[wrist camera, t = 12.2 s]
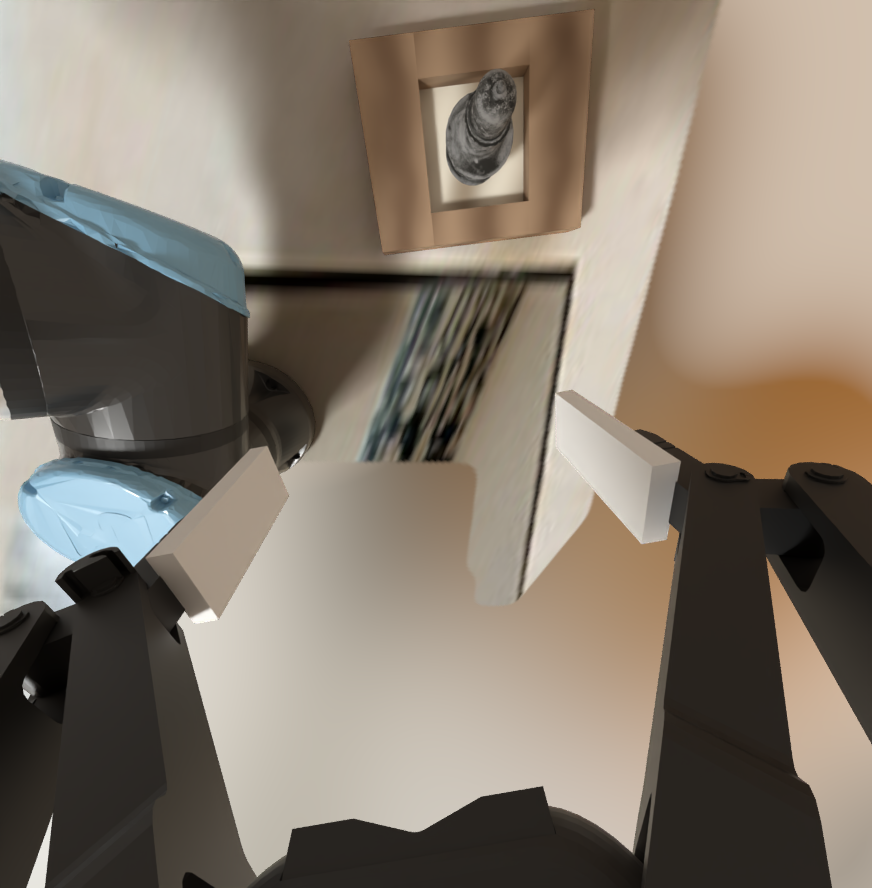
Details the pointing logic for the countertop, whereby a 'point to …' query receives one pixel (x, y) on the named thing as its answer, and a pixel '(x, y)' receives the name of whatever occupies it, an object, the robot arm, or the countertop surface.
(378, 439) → the countertop surface
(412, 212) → the wooden frame
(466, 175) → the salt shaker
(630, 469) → the robot arm
